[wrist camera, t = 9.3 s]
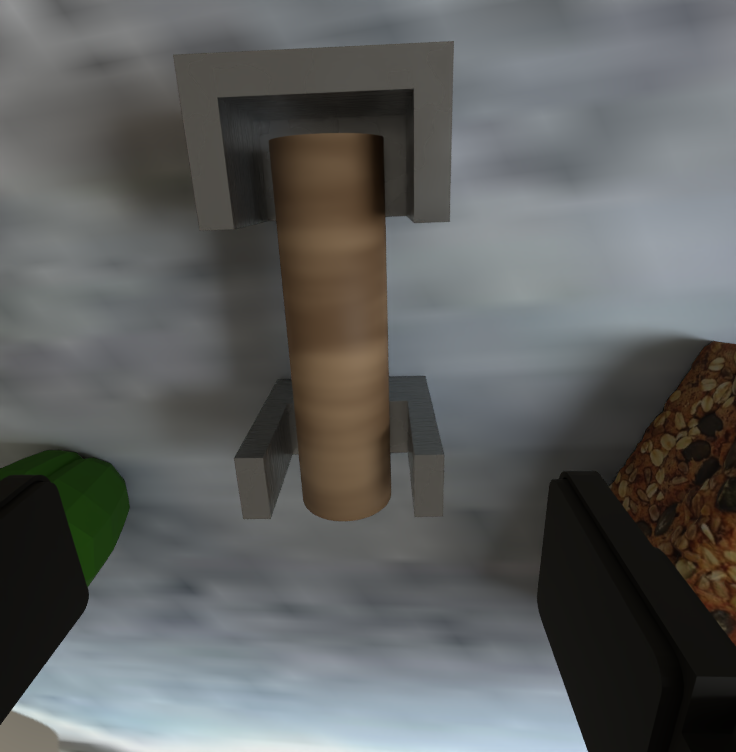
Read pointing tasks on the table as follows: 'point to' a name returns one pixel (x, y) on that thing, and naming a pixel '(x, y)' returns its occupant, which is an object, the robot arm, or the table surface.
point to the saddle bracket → (279, 442)
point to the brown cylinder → (336, 316)
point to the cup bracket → (316, 122)
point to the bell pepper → (83, 501)
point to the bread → (692, 481)
